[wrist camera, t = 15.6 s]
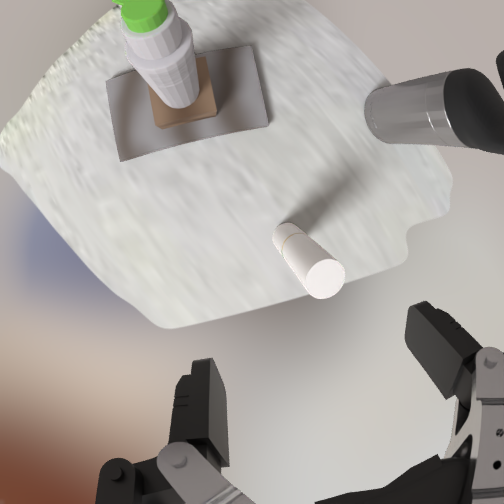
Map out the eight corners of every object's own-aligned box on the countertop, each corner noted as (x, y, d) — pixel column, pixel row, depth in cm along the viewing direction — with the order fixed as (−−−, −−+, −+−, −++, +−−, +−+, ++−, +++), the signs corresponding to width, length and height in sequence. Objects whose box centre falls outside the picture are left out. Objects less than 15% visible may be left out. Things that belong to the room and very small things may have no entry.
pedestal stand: (249, 49, 31) (257, 31, 25) (266, 126, 36) (277, 121, 30) (109, 83, 30) (92, 72, 24) (123, 161, 34) (107, 162, 28)
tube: (273, 222, 40) (307, 259, 26) (301, 222, 41) (348, 258, 27) (271, 251, 42) (303, 300, 28) (299, 250, 42) (341, 297, 28)
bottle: (186, 66, 26) (161, -38, 7) (207, 94, 27) (206, 8, 9) (153, 88, 26) (85, 8, 8) (174, 116, 28) (121, 58, 9)
